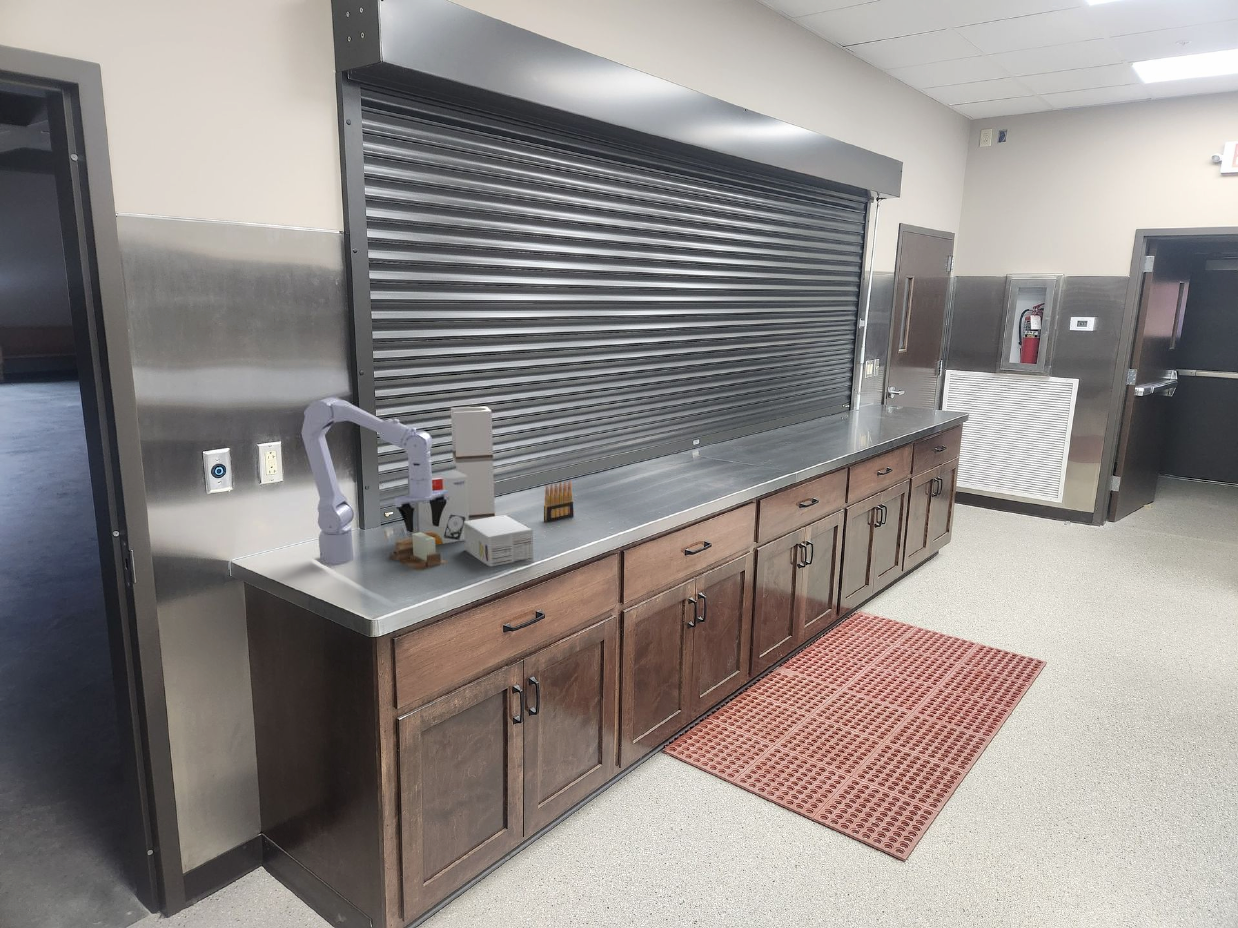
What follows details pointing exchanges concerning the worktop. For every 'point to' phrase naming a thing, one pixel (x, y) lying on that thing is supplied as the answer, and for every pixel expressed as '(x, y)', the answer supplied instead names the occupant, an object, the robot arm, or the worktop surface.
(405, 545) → the offcut upper
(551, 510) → the ammunition clip
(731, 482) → the worktop surface
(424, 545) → the panel
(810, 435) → the worktop surface
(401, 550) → the rack
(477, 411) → the tall banded white pillar
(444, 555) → the worktop surface
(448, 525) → the hard drive box
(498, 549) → the supplement box
